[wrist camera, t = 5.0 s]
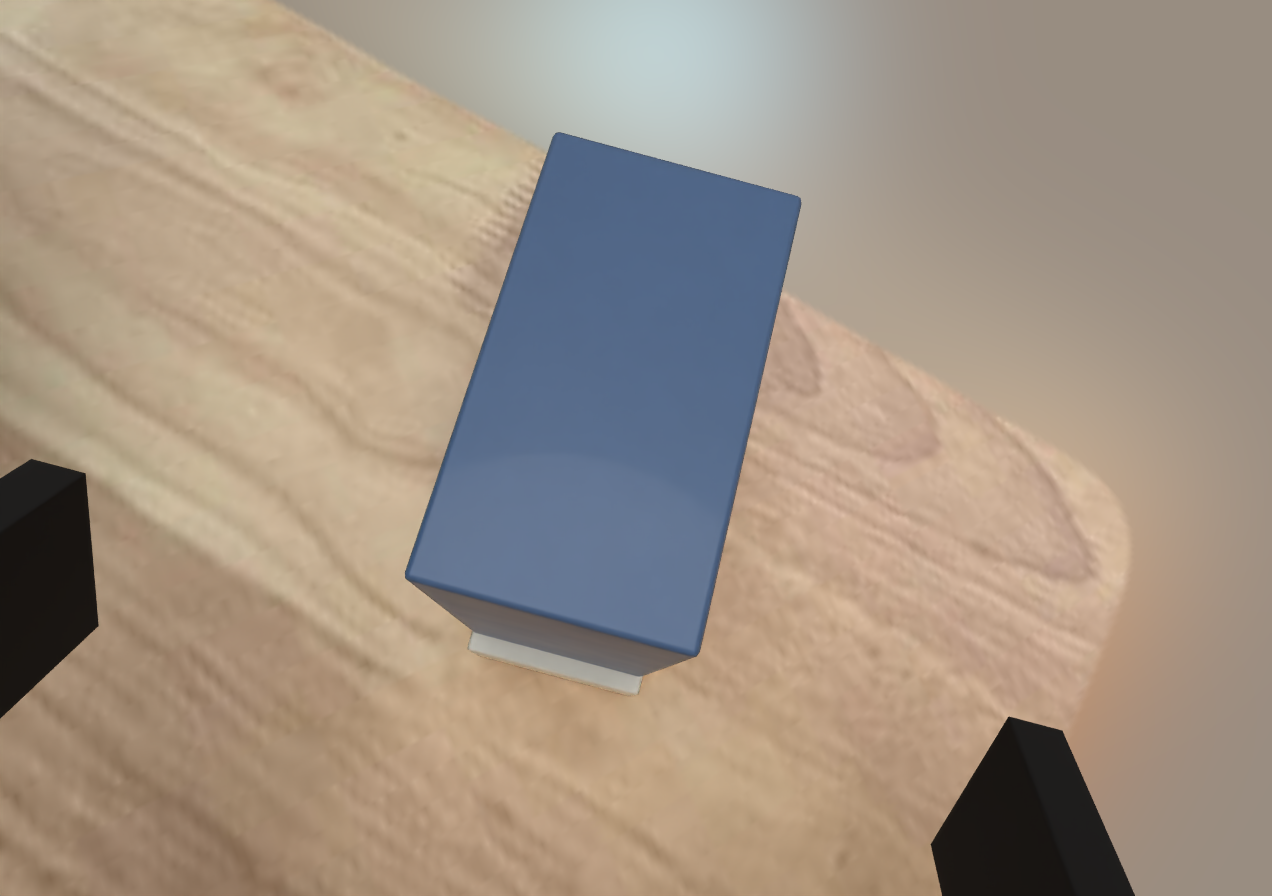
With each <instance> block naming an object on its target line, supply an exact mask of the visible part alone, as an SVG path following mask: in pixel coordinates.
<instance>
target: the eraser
mask: <svg viewBox="0 0 1272 896" xmlns="http://www.w3.org/2000/svg"><path fill="white" fill-rule="evenodd" d="M800 208H801V199H800V198H799V197H798V196H795V195H791V194H788V193H784V192H780V191H776V190H773V189H769V188H765V187H761V186H758V185H754V184H750V183H746V182H743V181H739V180H736V179H731V178H728V177H724V176H721V175H717V174H713V173H709V172H706V171H702V170H698V169H695V168H691V167H687V166H683V165H680V164H676V163H672V162H669V161H665V160H661V159H657V158H653V157H650V156H646V155H642V154H639V153H635V152H631V151H628V150H624V149H620V148H616V147H613V146H609V145H605V144H602V143H598V142H594V141H590V140H587V139H583V138H579V137H576V136H572V135H568V134H564V133H560V132H558V133H556V134H555V135H554V136H553V138H552V141H551V144H550V147H549V150H548V153H547V156H546V159H545V161H544V164H543V167H542V170H541V173H540V176H539V179H538V182H537V185H536V188H535V191H534V194H533V197H532V200H531V203H530V206H529V209H528V211H527V214H526V217H525V220H524V223H523V226H522V229H521V232H520V235H519V238H518V241H517V244H516V247H515V250H514V253H513V256H512V259H511V262H510V264H509V267H508V270H507V273H506V276H505V279H504V282H503V285H502V288H501V291H500V294H499V297H498V300H497V303H496V306H495V309H494V312H493V314H492V317H491V320H490V323H489V326H488V329H487V332H486V335H485V338H484V341H483V344H482V347H481V350H480V353H479V356H478V359H477V362H476V364H475V367H474V370H473V373H472V376H471V379H470V382H469V385H468V388H467V391H466V394H465V397H464V400H463V403H462V406H461V409H460V412H459V415H458V417H457V420H456V423H455V426H454V429H453V432H452V435H451V438H450V441H449V444H448V447H447V450H446V453H445V456H444V459H443V462H442V465H441V467H440V470H439V473H438V476H437V479H436V482H435V485H434V488H433V491H432V494H431V497H430V500H429V503H428V506H427V509H426V512H425V515H424V518H423V520H422V523H421V526H420V529H419V532H418V535H417V538H416V541H415V544H414V547H413V550H412V553H411V556H410V559H409V562H408V565H407V568H406V570H405V578H406V579H407V580H408V581H409V582H411V583H412V584H413V585H415V586H416V587H417V588H418V589H420V590H421V591H422V592H424V593H425V594H426V595H427V596H429V597H430V598H431V599H433V600H434V601H435V602H436V603H438V604H439V605H440V606H442V607H443V608H444V609H445V610H447V611H448V612H449V613H451V614H452V615H453V616H454V617H456V618H457V619H458V620H460V621H461V622H462V623H463V624H465V625H466V626H467V627H469V628H470V629H471V630H472V634H471V637H470V640H469V644H468V650H469V651H471V652H473V653H475V654H477V655H478V656H481V657H485V658H489V659H492V660H496V661H500V662H504V663H507V664H511V665H515V666H518V667H522V668H526V669H530V670H533V671H537V672H541V673H545V674H548V675H552V676H556V677H559V678H563V679H567V680H571V681H574V682H578V683H582V684H586V685H589V686H593V687H597V688H600V689H604V690H608V691H612V692H615V693H619V694H623V695H627V696H632V695H638V693H639V690H640V686H641V682H642V678H643V676H644V675H647V674H650V673H652V672H655V671H658V670H661V669H663V668H666V667H669V666H672V665H674V664H677V663H680V662H682V661H685V660H688V659H691V658H693V657H696V656H697V655H698V654H699V652H700V649H701V644H702V640H703V636H704V631H705V627H706V622H707V618H708V614H709V609H710V605H711V600H712V596H713V591H714V587H715V583H716V578H717V574H718V569H719V565H720V561H721V556H722V552H723V547H724V543H725V539H726V534H727V530H728V525H729V521H730V516H731V512H732V508H733V503H734V499H735V494H736V490H737V486H738V481H739V477H740V472H741V468H742V464H743V459H744V455H745V450H746V446H747V442H748V437H749V433H750V428H751V424H752V419H753V415H754V411H755V406H756V402H757V397H758V393H759V389H760V384H761V380H762V375H763V371H764V367H765V362H766V358H767V353H768V349H769V344H770V340H771V336H772V331H773V327H774V322H775V318H776V314H777V309H778V305H779V300H780V296H781V292H782V287H783V282H784V278H785V274H786V270H787V265H788V261H789V256H790V252H791V247H792V243H793V239H794V234H795V230H796V225H797V221H798V217H799V212H800Z"/></svg>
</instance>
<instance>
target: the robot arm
mask: <svg viewBox="0 0 1272 896" xmlns="http://www.w3.org/2000/svg"><path fill="white" fill-rule="evenodd" d="M98 626H99V625H98V614H97V602H96V590H95V578H94V567H93V555H92V543H91V532H90V520H89V508H88V496H87V485H86V473H82V472H79V471H75V470H71V469H67V468H63V467H60V466H56V465H52V464H48V463H44V462H41V461H37V460H33V459H31V460H29V461H27V462H26V463H24V464H23V465H21V466H19V467H18V468H16V469H15V470H13V471H11V472H10V473H8V474H7V475H5V476H3V477H2V478H0V718H1V717H2V716H4V715H5V714H6V713H7V712H8V711H9V710H10V709H11V708H12V707H13V706H14V705H15V704H16V703H17V702H18V701H19V700H20V699H22V698H23V697H24V696H25V695H26V694H27V693H28V692H29V691H30V690H31V689H32V688H33V687H34V686H35V685H36V684H37V683H38V682H40V681H41V680H42V679H43V678H44V677H45V676H46V675H47V674H48V673H49V672H50V671H51V670H52V669H53V668H54V667H55V666H56V665H58V664H59V663H60V662H61V661H62V660H63V659H64V658H65V657H66V656H67V655H68V654H69V653H70V652H71V651H72V650H73V649H75V648H76V647H77V646H78V645H79V644H80V643H81V642H82V641H83V640H84V639H85V638H86V637H87V636H88V635H89V634H90V633H91V632H93V631H94V630H95V629H96V628H97V627H98ZM931 847H932V852H933V856H934V861H935V865H936V870H937V874H938V879H939V883H940V888H941V892H942V896H1135V894H1134V892H1133V890H1132V888H1131V886H1130V883H1129V881H1128V879H1127V876H1126V874H1125V872H1124V869H1123V867H1122V865H1121V863H1120V861H1119V858H1118V856H1117V854H1116V851H1115V849H1114V847H1113V845H1112V842H1111V840H1110V838H1109V835H1108V833H1107V831H1106V829H1105V826H1104V824H1103V822H1102V820H1101V817H1100V815H1099V813H1098V811H1097V808H1096V806H1095V804H1094V802H1093V799H1092V797H1091V795H1090V793H1089V791H1088V788H1087V786H1086V783H1085V781H1084V779H1083V777H1082V774H1081V772H1080V770H1079V768H1078V765H1077V763H1076V761H1075V759H1074V756H1073V754H1072V752H1071V750H1070V747H1069V745H1068V743H1067V740H1066V738H1065V736H1064V734H1063V731H1062V730H1058V729H1054V728H1050V727H1046V726H1043V725H1039V724H1035V723H1031V722H1027V721H1024V720H1020V719H1016V718H1012V717H1008V719H1007V720H1006V722H1005V723H1004V725H1003V727H1002V728H1001V730H1000V732H999V733H998V735H997V737H996V738H995V740H994V741H993V743H992V745H991V746H990V748H989V750H988V751H987V753H986V755H985V756H984V758H983V759H982V761H981V763H980V764H979V766H978V768H977V769H976V771H975V773H974V774H973V776H972V778H971V779H970V781H969V782H968V784H967V786H966V787H965V789H964V791H963V792H962V794H961V796H960V797H959V799H958V800H957V802H956V804H955V805H954V807H953V809H952V810H951V812H950V814H949V815H948V817H947V818H946V820H945V822H944V823H943V825H942V827H941V828H940V830H939V832H938V833H937V835H936V837H935V838H934V840H933V841H932V843H931Z"/></svg>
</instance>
